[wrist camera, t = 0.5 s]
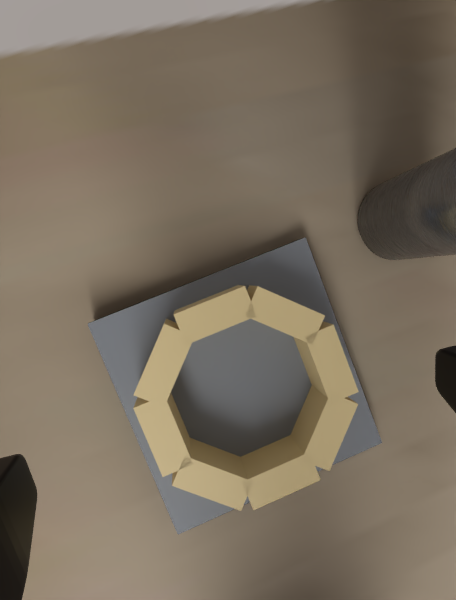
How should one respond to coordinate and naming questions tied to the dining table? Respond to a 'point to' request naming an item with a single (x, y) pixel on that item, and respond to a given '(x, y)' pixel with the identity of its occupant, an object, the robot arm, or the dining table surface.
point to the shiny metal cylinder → (413, 212)
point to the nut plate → (237, 385)
